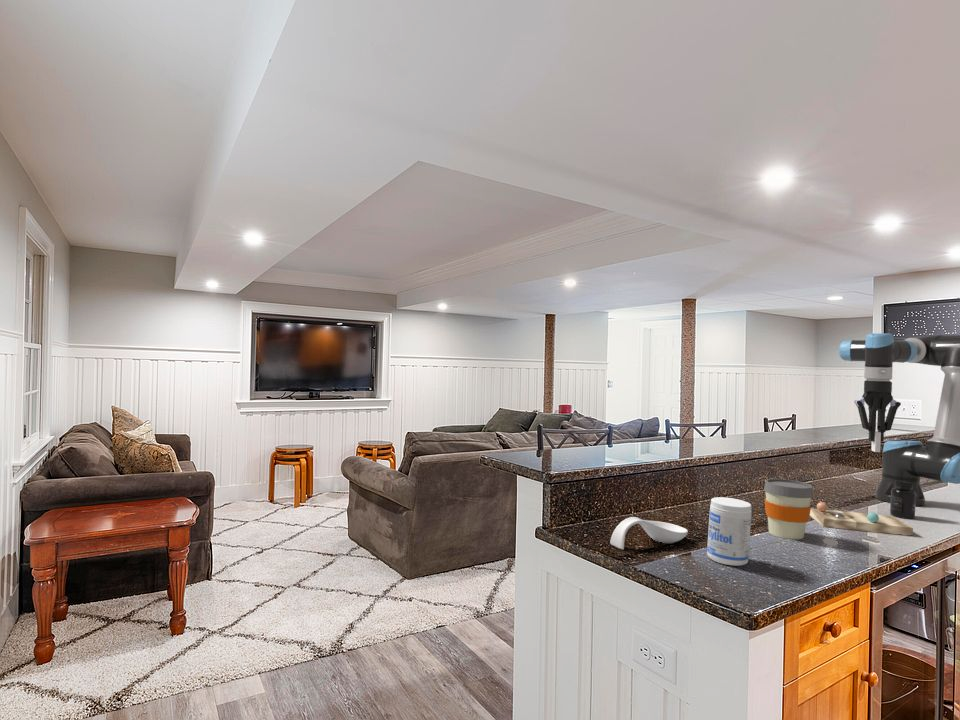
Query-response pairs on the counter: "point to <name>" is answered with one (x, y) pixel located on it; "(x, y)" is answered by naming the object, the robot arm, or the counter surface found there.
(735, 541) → the supplement tub
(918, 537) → the counter surface
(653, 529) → the spoon rest
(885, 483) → the robot arm
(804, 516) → the reusable coffee cup
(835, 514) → the steel ball
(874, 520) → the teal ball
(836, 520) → the maple board
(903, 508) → the supplement bottle
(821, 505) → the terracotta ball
